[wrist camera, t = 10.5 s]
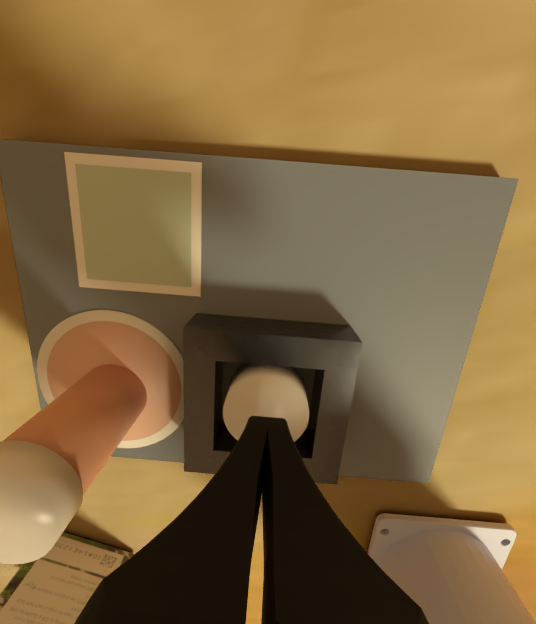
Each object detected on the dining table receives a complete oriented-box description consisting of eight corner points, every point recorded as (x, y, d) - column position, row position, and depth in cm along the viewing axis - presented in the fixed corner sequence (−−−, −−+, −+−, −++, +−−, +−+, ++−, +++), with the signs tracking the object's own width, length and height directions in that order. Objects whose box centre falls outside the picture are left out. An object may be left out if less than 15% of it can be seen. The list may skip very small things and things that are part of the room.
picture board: (421, 471, 17) (429, 484, 16) (58, 440, 17) (46, 452, 16) (503, 181, 12) (520, 178, 11) (11, 143, 12) (-9, 137, 11)
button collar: (329, 451, 15) (337, 484, 13) (195, 440, 15) (184, 471, 14) (350, 325, 13) (362, 342, 11) (196, 312, 13) (182, 327, 11)
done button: (300, 426, 15) (304, 453, 13) (228, 420, 15) (221, 446, 13) (309, 360, 13) (314, 379, 12) (230, 353, 14) (224, 372, 12)
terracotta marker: (151, 425, 15) (64, 568, 9) (84, 420, 15) (-51, 559, 9) (148, 364, 14) (46, 476, 8) (75, 359, 14) (-83, 467, 8)
